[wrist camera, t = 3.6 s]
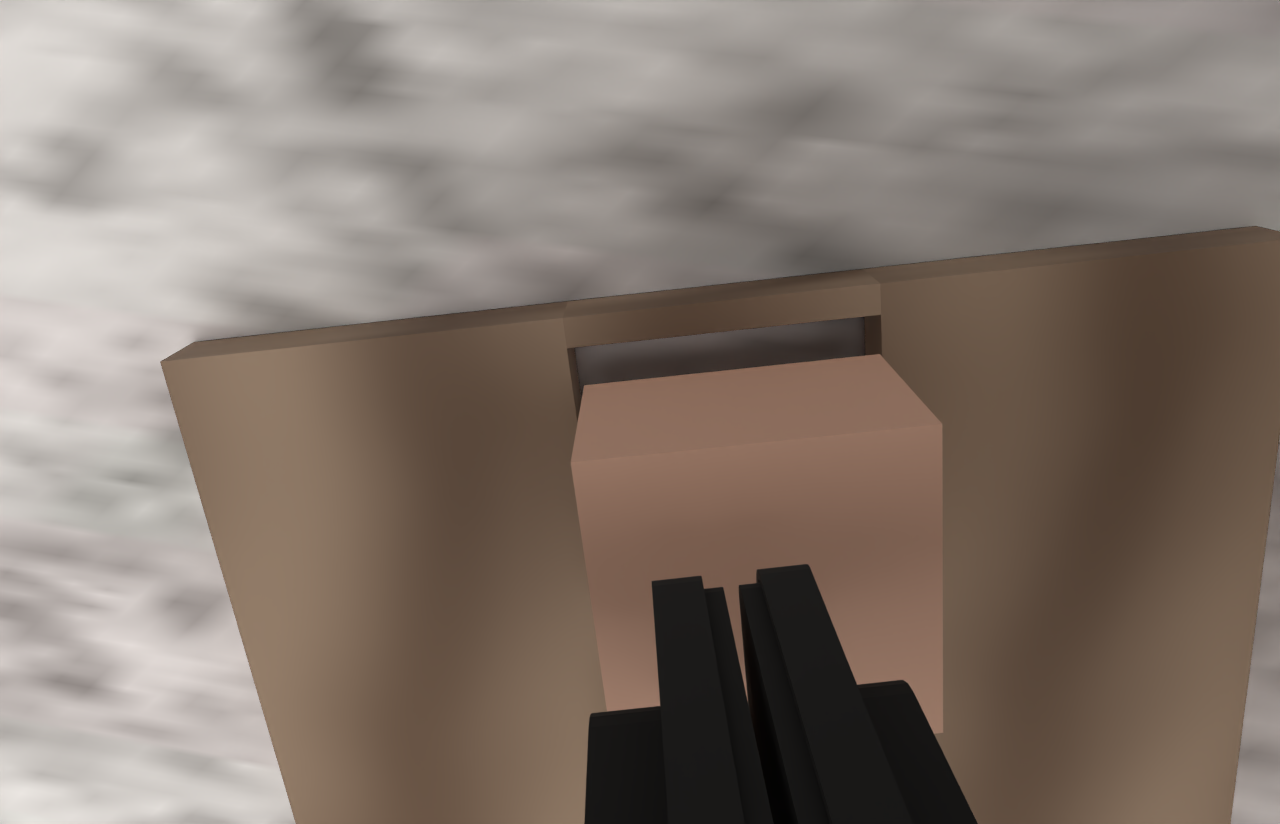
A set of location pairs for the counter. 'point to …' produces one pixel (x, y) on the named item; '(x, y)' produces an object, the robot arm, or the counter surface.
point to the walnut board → (554, 558)
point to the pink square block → (766, 510)
